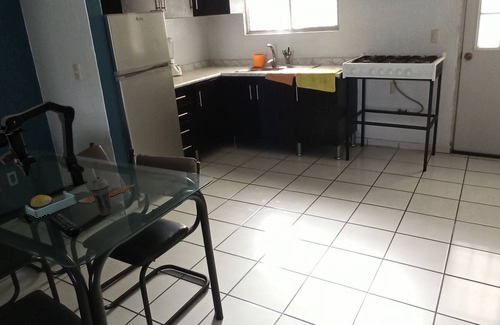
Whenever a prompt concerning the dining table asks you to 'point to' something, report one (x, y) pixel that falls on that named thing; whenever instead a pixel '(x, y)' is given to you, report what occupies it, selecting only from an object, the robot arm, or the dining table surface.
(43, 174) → the dining table surface
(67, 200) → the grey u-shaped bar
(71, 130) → the robot arm
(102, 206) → the beverage cup
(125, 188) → the brown carved slab
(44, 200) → the bread roll
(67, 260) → the dining table surface
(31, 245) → the dining table surface
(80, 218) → the dining table surface
